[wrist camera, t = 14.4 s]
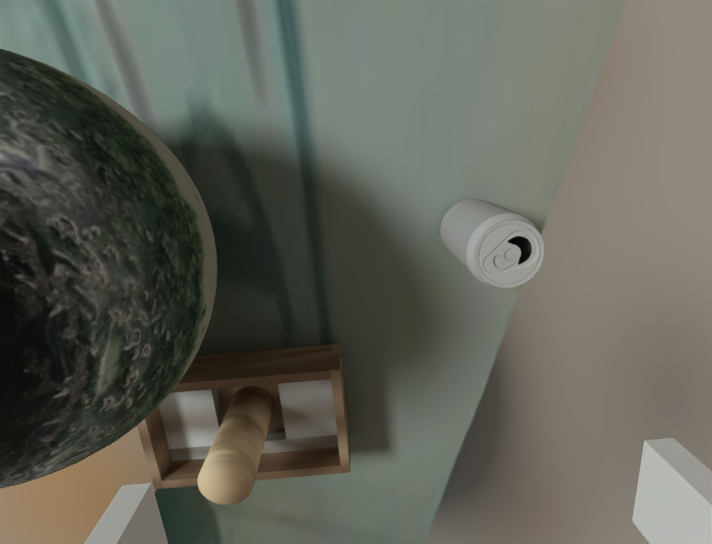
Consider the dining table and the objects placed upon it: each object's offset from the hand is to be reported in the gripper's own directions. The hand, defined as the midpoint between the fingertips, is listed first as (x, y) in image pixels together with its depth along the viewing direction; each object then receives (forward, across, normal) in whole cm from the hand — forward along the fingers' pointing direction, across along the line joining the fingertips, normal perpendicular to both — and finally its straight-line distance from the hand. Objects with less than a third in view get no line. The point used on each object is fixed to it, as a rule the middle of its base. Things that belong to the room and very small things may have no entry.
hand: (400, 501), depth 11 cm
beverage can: (+35, +12, 0) cm, 37 cm away
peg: (+34, -14, -19) cm, 41 cm away
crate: (+35, -14, -19) cm, 42 cm away
